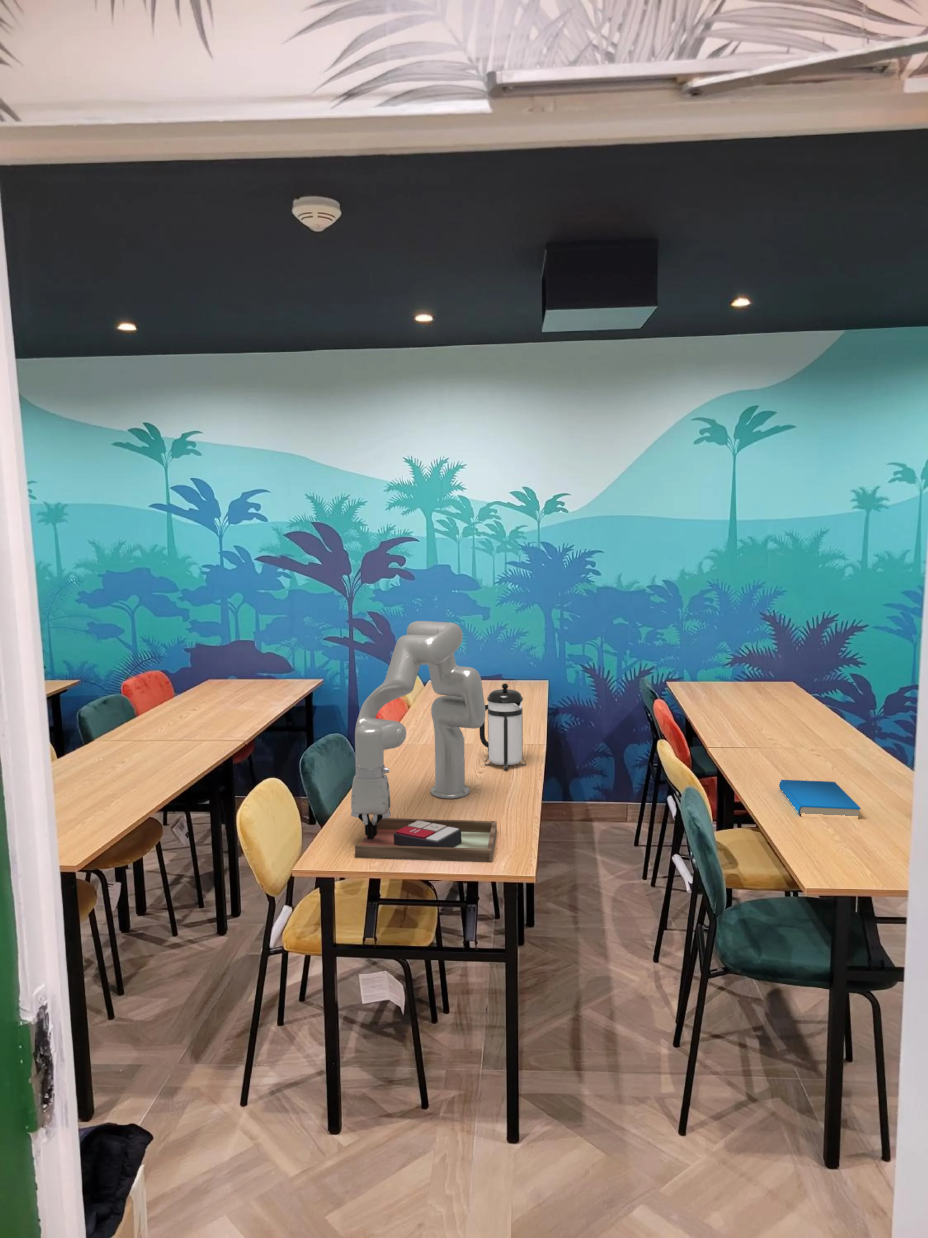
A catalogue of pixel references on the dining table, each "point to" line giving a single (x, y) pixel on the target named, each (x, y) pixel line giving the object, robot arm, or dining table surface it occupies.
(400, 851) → the brown wooden tray
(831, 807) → the book
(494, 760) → the coffee press
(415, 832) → the calculator
